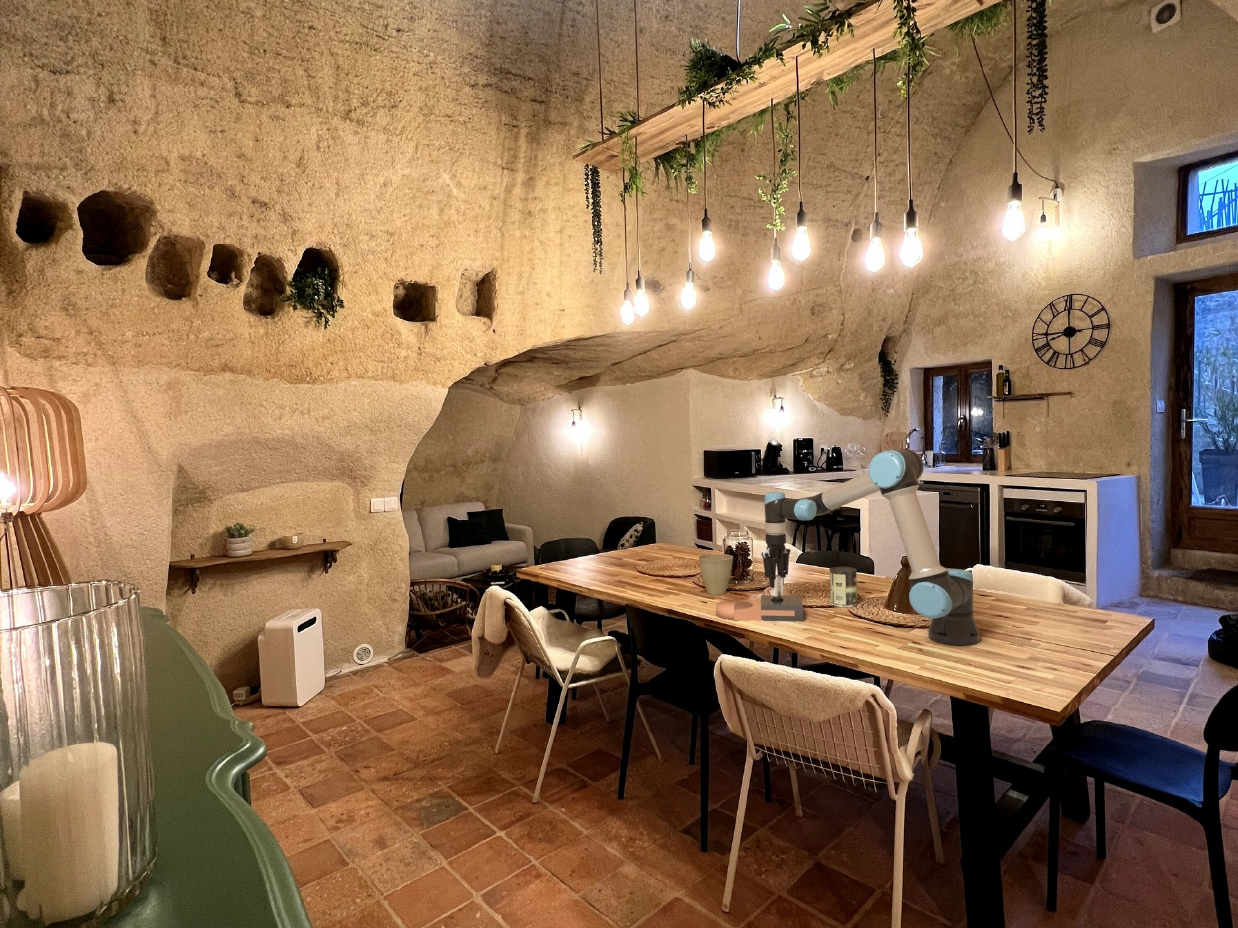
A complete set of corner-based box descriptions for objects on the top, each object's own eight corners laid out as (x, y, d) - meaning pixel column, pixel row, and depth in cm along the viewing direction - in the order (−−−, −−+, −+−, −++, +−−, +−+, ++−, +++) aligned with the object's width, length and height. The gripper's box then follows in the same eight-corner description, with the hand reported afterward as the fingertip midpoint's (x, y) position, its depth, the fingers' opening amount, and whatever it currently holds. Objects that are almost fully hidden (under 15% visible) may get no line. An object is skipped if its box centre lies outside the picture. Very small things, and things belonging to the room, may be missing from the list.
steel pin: (781, 602, 259) (780, 576, 259) (773, 602, 260) (772, 576, 259) (781, 600, 262) (780, 574, 262) (773, 600, 263) (772, 574, 262)
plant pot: (726, 598, 289) (724, 561, 289) (693, 595, 297) (692, 558, 296) (739, 590, 302) (738, 554, 301) (708, 587, 310) (707, 552, 309)
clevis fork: (803, 621, 253) (802, 605, 252) (761, 620, 256) (760, 604, 255) (801, 611, 266) (800, 595, 266) (761, 610, 269) (761, 595, 269)
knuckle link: (794, 621, 253) (794, 610, 253) (715, 619, 259) (714, 609, 259) (793, 611, 267) (792, 600, 267) (717, 609, 273) (717, 599, 273)
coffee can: (855, 600, 279) (854, 566, 278) (859, 607, 268) (858, 571, 268) (828, 600, 281) (828, 566, 280) (831, 607, 271) (830, 571, 270)
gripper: (782, 529, 267) (784, 589, 268) (753, 534, 258) (755, 596, 260) (797, 531, 261) (798, 593, 262) (768, 536, 252) (769, 600, 253)
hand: (777, 594), depth 261 cm, fingers closed on steel pin, 2 cm apart
